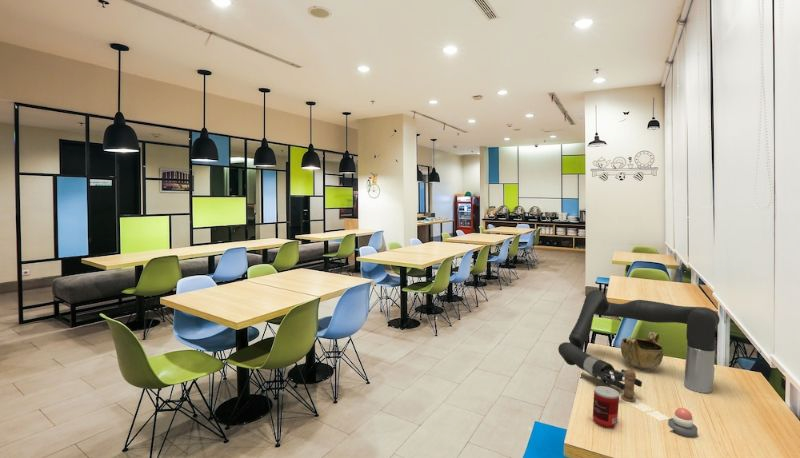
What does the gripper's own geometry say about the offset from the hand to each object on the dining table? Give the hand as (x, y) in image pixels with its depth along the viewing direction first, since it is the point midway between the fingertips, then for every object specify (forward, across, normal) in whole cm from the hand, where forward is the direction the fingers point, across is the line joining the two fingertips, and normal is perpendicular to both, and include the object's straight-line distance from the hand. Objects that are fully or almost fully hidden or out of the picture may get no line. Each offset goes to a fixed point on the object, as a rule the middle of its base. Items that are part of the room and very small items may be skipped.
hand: (632, 385), depth 151 cm
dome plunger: (+18, -1, -5) cm, 19 cm away
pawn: (-2, 0, -6) cm, 6 cm away
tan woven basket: (-24, -34, -7) cm, 43 cm away
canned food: (+6, +20, -7) cm, 22 cm away
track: (+4, 0, -7) cm, 8 cm away
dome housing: (+18, -1, -7) cm, 20 cm away
